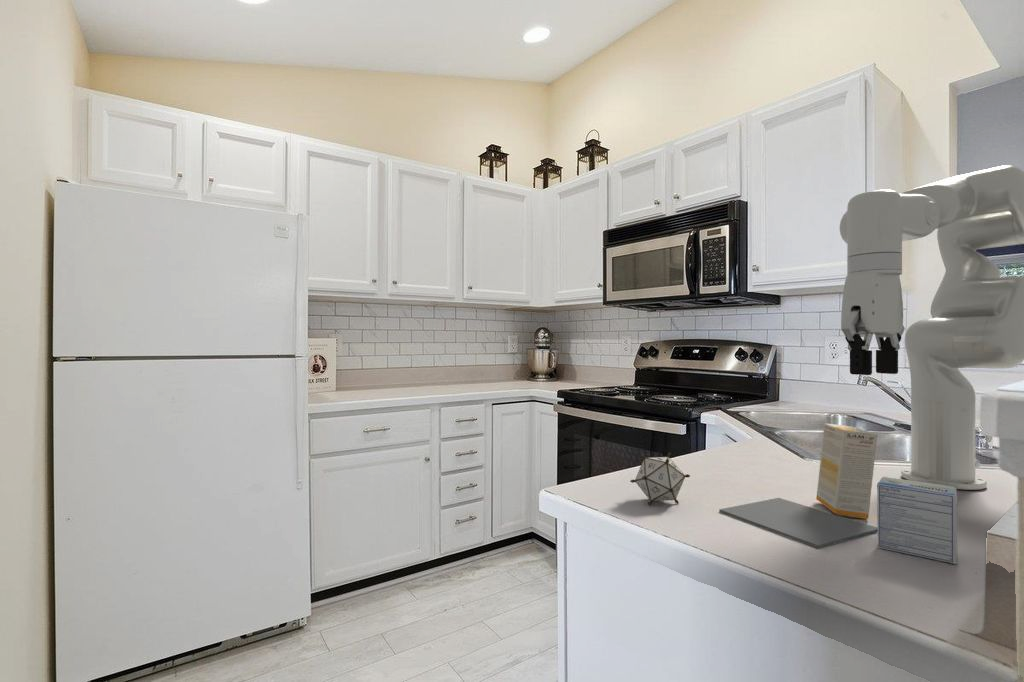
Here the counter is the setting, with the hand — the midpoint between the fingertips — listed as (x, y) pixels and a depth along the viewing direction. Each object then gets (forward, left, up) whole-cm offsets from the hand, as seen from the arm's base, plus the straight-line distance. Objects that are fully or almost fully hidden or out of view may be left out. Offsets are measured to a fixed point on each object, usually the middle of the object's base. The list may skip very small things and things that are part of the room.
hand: (874, 373), depth 86 cm
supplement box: (+9, 0, -22) cm, 23 cm away
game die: (+32, -16, -22) cm, 42 cm away
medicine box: (+16, +14, -22) cm, 31 cm away
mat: (+20, 0, -22) cm, 29 cm away
